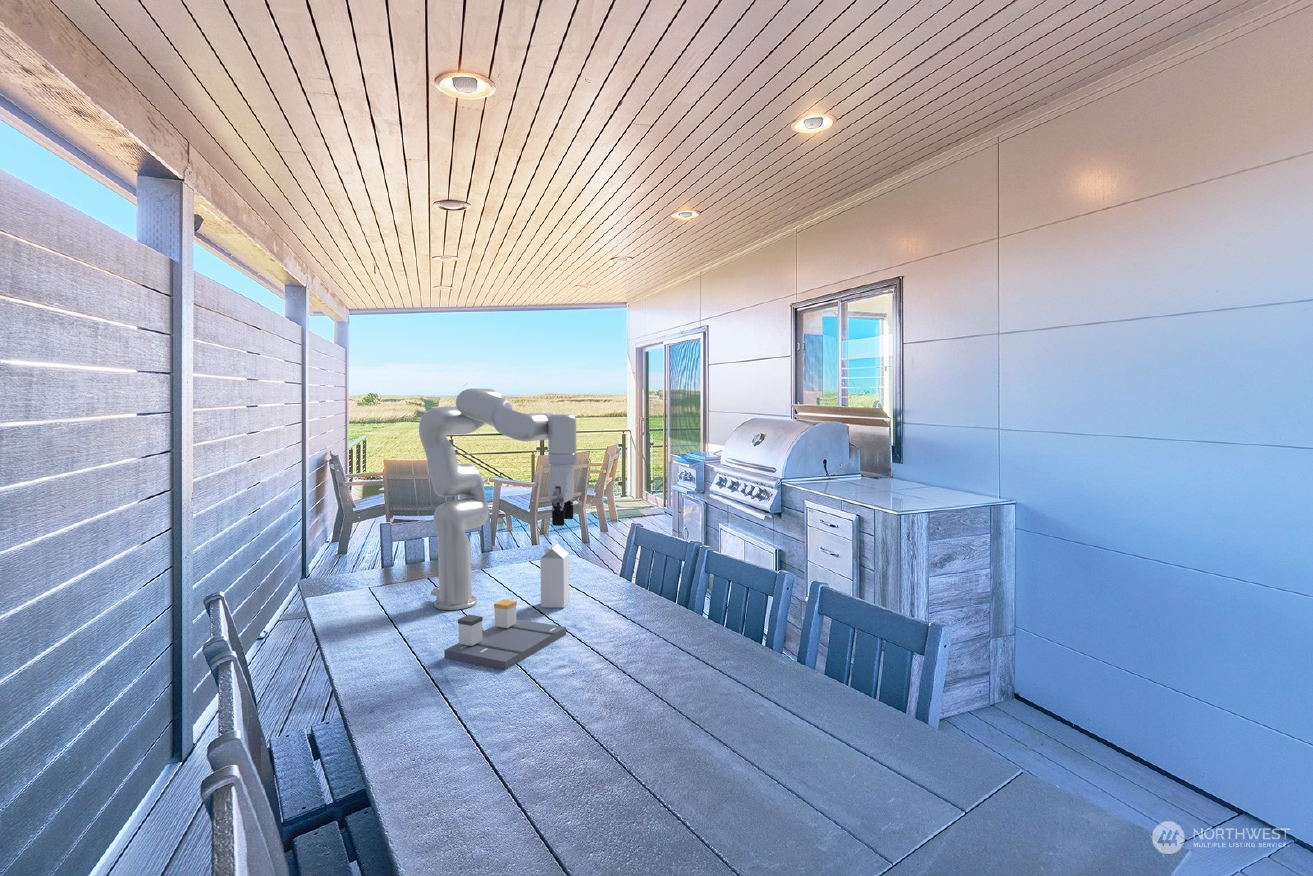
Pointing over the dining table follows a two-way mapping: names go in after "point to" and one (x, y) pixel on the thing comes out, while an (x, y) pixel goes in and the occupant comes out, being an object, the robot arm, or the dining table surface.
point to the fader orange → (505, 613)
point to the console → (507, 644)
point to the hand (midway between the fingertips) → (563, 522)
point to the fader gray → (470, 630)
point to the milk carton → (554, 577)
